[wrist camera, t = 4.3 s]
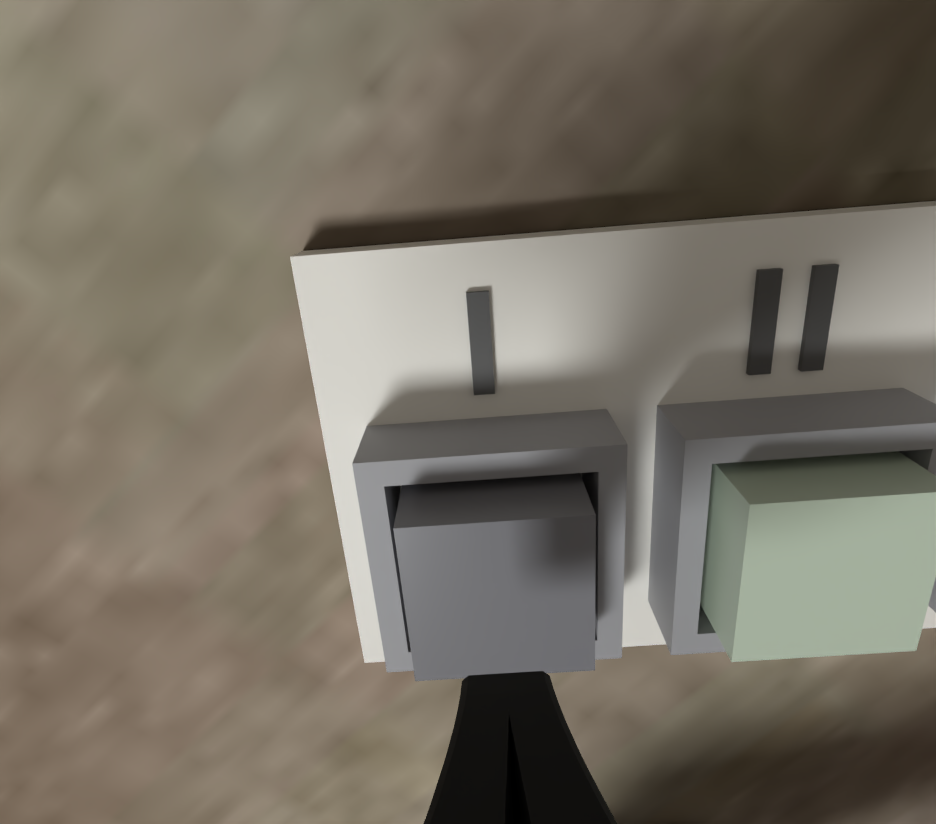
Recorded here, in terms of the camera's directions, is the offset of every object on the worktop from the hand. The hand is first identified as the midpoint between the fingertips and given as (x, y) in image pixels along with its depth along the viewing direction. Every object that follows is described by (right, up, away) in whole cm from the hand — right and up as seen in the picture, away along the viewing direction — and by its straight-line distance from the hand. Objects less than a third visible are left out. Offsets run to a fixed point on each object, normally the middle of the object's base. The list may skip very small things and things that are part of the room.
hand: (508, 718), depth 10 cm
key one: (0, +2, +5) cm, 5 cm away
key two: (+7, +2, +4) cm, 8 cm away
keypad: (+7, +4, +6) cm, 10 cm away
